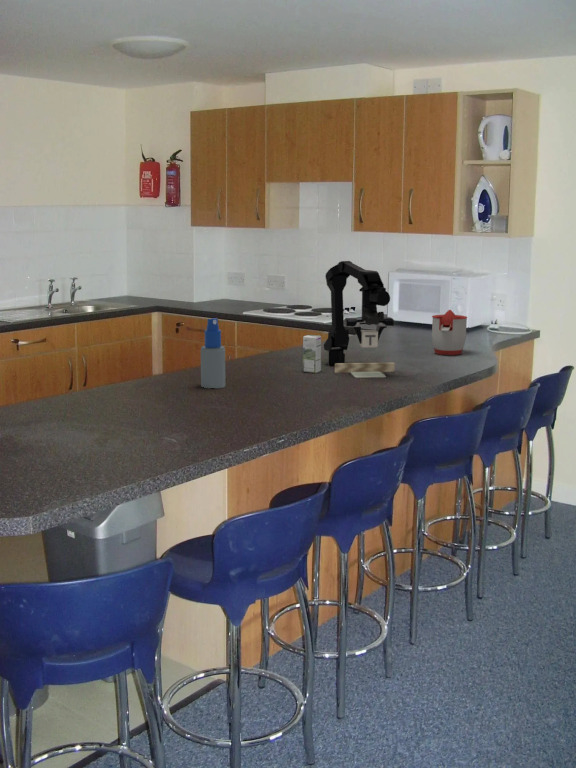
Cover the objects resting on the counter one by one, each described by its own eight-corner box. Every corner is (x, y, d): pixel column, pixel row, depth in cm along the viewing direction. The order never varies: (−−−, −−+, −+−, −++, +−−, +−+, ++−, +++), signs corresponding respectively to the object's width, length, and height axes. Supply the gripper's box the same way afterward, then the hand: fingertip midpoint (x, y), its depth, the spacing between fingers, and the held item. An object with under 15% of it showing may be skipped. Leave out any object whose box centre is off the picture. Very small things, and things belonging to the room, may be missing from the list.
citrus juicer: (426, 355, 390) (427, 311, 386) (434, 350, 406) (436, 307, 402) (461, 358, 385) (463, 312, 381) (468, 352, 400) (470, 308, 396)
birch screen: (335, 372, 349) (335, 364, 348) (334, 372, 350) (334, 363, 350) (394, 371, 352) (394, 363, 351) (393, 371, 353) (393, 362, 352)
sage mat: (355, 377, 339) (355, 376, 339) (350, 373, 348) (350, 372, 348) (385, 377, 340) (385, 376, 340) (380, 372, 350) (380, 371, 350)
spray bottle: (229, 387, 320) (228, 319, 315) (206, 389, 316) (205, 320, 311) (219, 382, 328) (219, 316, 323) (197, 385, 324) (196, 317, 319)
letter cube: (362, 347, 340) (362, 332, 339) (359, 345, 346) (359, 330, 345) (377, 347, 340) (378, 331, 339) (374, 345, 346) (374, 329, 345)
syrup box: (321, 370, 353) (321, 335, 350) (315, 373, 347) (315, 337, 345) (308, 369, 355) (308, 334, 352) (302, 372, 350) (302, 336, 347)
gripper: (349, 306, 331) (348, 347, 334) (397, 305, 333) (396, 346, 336) (344, 303, 342) (343, 343, 345) (390, 302, 344) (390, 342, 347)
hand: (368, 343), depth 343 cm, fingers closed on letter cube, 6 cm apart
